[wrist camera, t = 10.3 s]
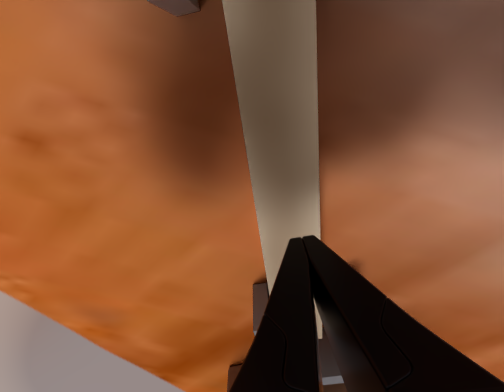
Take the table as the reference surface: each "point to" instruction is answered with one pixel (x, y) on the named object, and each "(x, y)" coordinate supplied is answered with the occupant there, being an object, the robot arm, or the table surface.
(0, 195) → the table surface
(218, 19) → the table surface
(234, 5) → the slat
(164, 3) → the endcap
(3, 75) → the table surface
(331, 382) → the endcap
